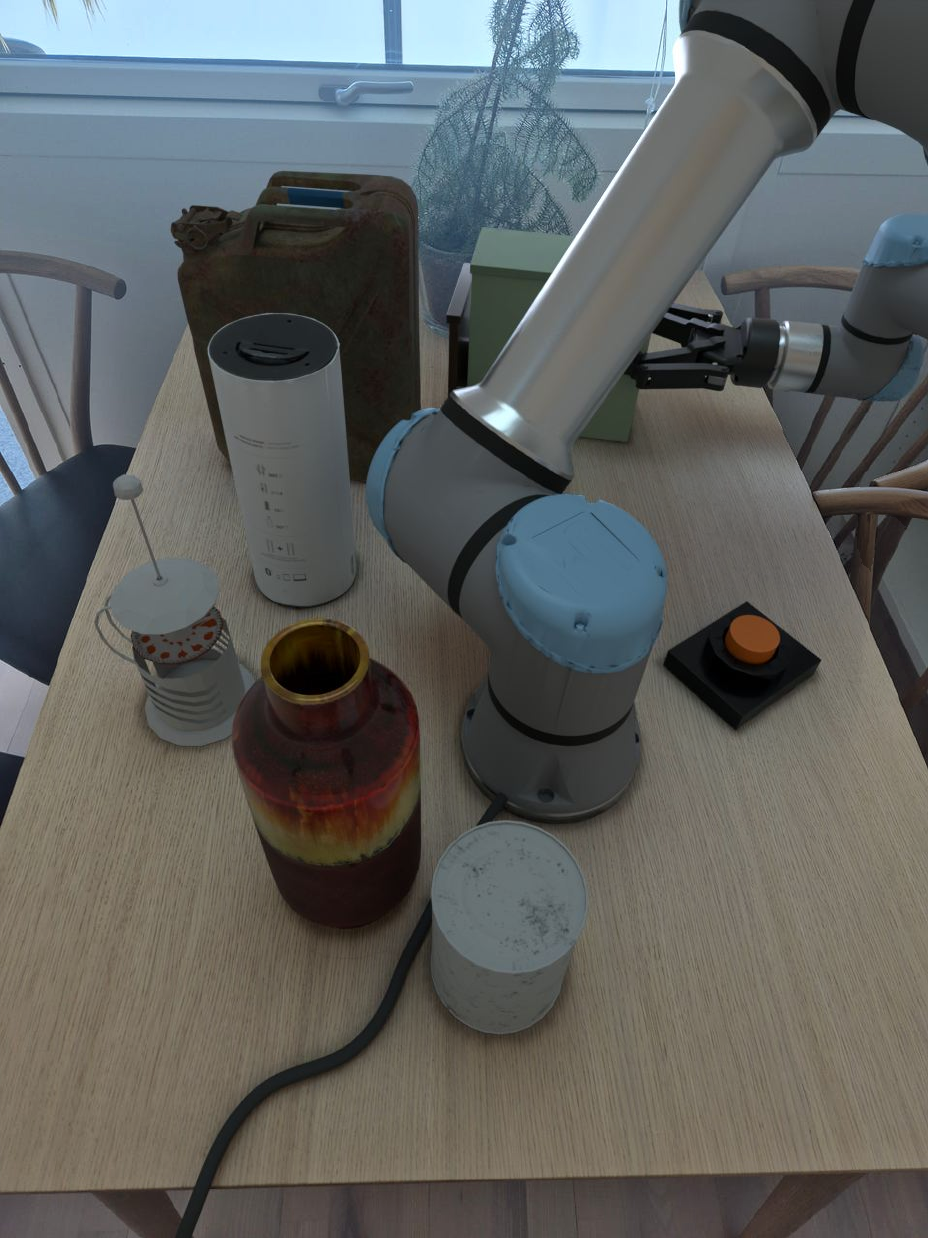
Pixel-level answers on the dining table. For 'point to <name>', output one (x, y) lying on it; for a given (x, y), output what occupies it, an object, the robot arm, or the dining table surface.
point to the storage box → (502, 296)
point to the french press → (178, 642)
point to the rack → (459, 331)
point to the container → (317, 287)
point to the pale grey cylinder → (504, 924)
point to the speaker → (288, 453)
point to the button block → (738, 670)
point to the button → (752, 639)
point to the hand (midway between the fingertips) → (576, 333)
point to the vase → (332, 774)
